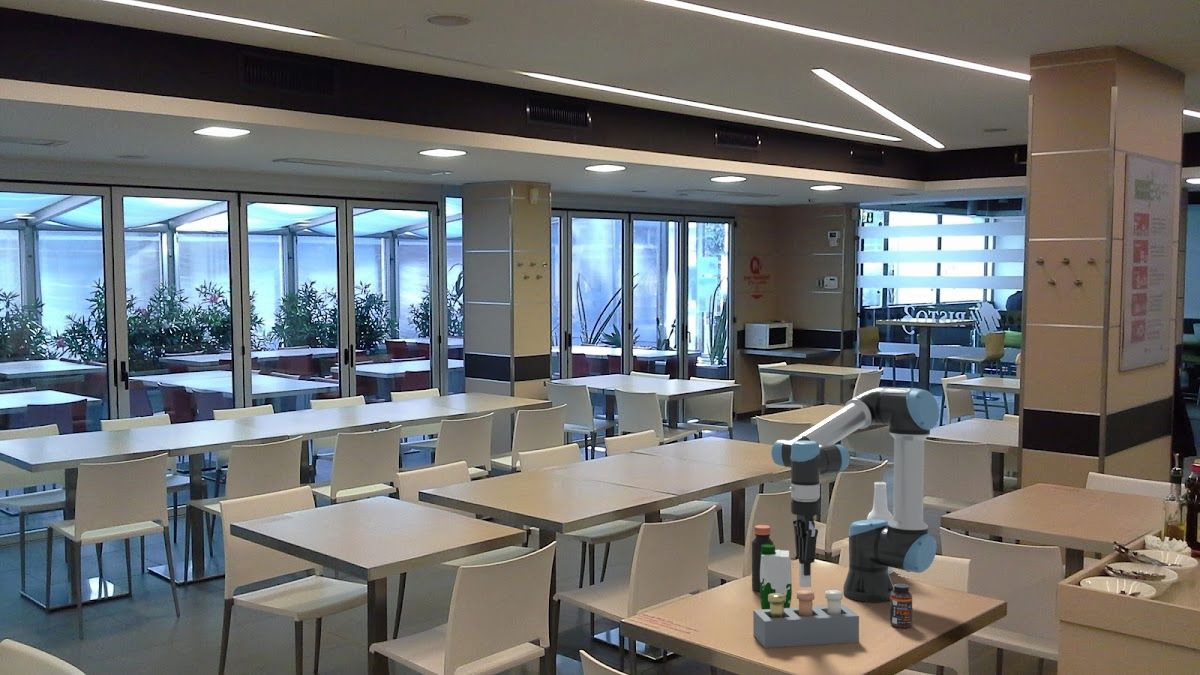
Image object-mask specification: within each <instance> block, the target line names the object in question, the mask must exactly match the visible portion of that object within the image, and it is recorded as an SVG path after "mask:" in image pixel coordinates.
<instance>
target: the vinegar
mask: <svg viewBox="0 0 1200 675" xmlns="http://www.w3.org/2000/svg"><path fill="white" fill-rule="evenodd" d="M754 535H755V538H754V539H753V540H752V541H751V589H752V591H755V592H759V593H760V564H761V545H763V544H772V545H774V542H773V540H772V539H771V538H770V537H771V526H769V525H767V524H766V525H765V524H758V525H755V526H754Z"/></svg>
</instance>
